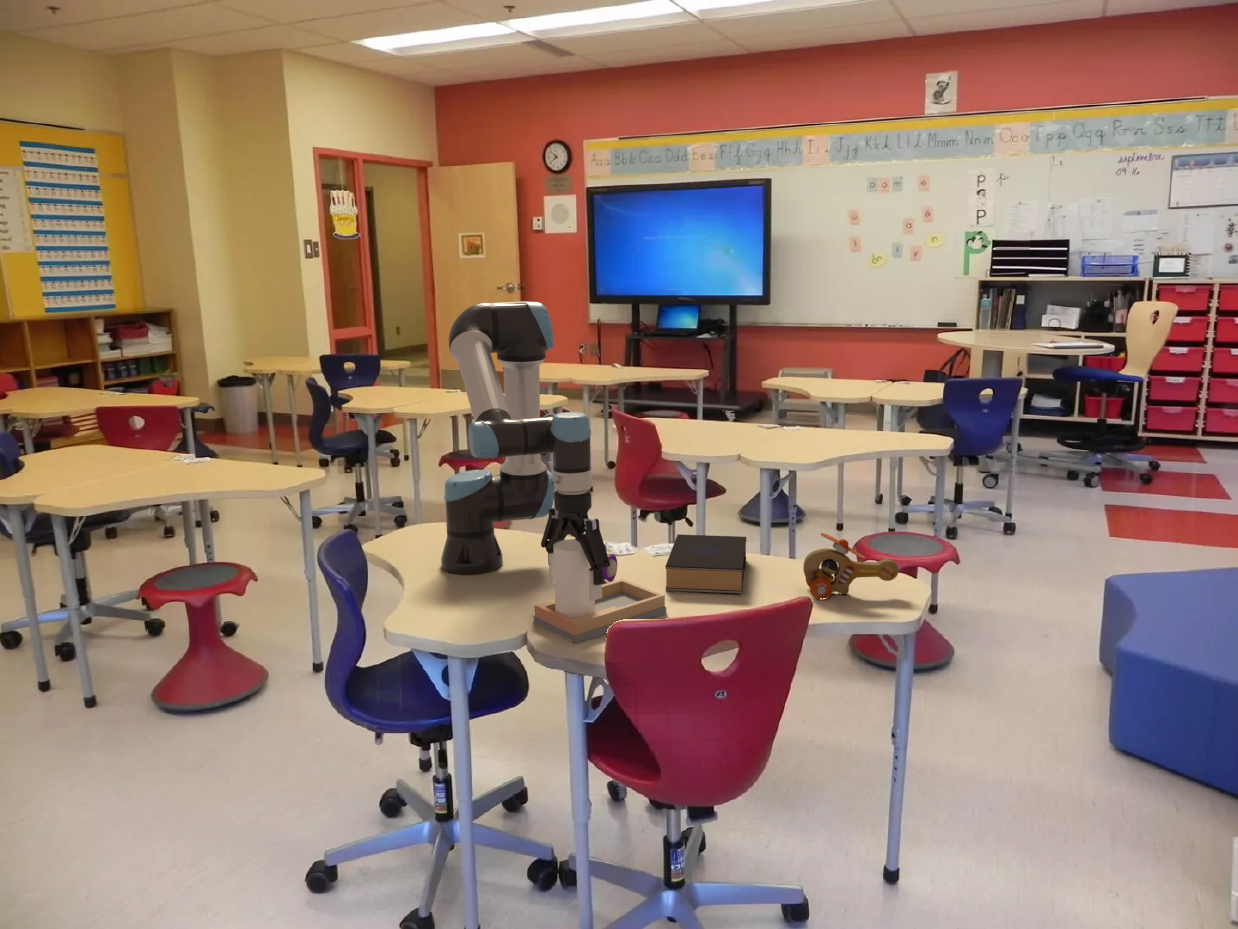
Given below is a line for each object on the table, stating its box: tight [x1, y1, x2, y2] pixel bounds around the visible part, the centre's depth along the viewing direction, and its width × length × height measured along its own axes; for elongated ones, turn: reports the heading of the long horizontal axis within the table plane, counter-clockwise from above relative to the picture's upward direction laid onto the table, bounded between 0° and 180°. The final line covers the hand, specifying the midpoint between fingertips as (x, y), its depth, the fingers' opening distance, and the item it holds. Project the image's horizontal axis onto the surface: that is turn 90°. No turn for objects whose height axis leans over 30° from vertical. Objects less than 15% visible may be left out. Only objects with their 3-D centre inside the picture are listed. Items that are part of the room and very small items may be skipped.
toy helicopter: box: [803, 532, 899, 600], centre depth 208 cm, size 8×21×14 cm, turn 87°
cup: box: [553, 538, 595, 619], centre depth 192 cm, size 8×8×16 cm
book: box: [665, 534, 747, 595], centre depth 223 cm, size 17×25×7 cm
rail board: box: [532, 578, 667, 644], centre depth 198 cm, size 15×24×4 cm, turn 130°
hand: (575, 590), depth 192 cm, fingers open, 13 cm apart
